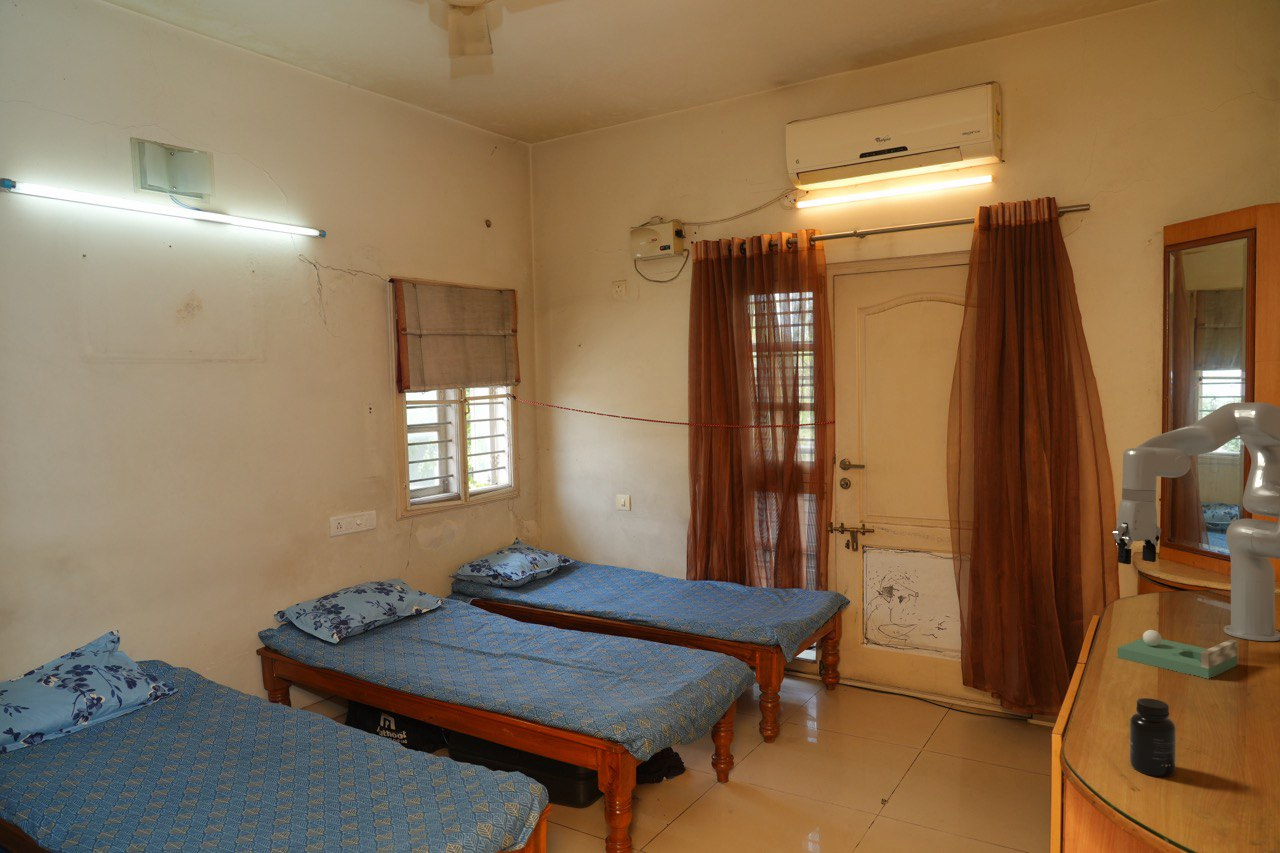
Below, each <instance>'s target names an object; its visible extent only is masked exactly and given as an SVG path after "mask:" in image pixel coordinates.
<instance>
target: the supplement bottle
mask: <svg viewBox="0 0 1280 853" xmlns="http://www.w3.org/2000/svg"><path fill="white" fill-rule="evenodd" d="M1169 708H1170V706H1169V704H1168V703H1166V702H1165V701H1162V700H1160V699H1155V698H1150V697H1148V698H1147V697H1146V698H1145V697H1142V698H1138V699H1137V700H1136V708H1135V709H1136V713H1134V714H1133V715H1131V717H1130V720H1129V727H1130V728H1129V733H1130V734H1129V761H1130V763H1129V764H1130V765H1131V767H1132V768H1133V769H1134V770H1136V771H1137V772H1139V773H1141V774H1143V775H1146V776H1149V777H1156V778H1168V777H1171V776H1174V774H1175V773H1176V760H1177V759H1176V752H1177V751H1176V743H1177V742H1176V733H1177V732H1176V725H1175V723H1174V722H1173V720H1172V719H1170V718H1169V717H1170V712H1169V711H1170V710H1169Z"/></svg>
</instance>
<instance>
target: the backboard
mask: <svg viewBox="0 0 1280 853" xmlns="http://www.w3.org/2000/svg"><path fill="white" fill-rule="evenodd" d="M1206 649H1207V650H1205V651H1202V652H1201V667H1204V668H1208V669H1209V668H1211V667H1213V666H1215V665H1217V664H1219V663H1221V662H1224V661H1226V660H1228V659H1230V658H1232V657H1234V656H1236V655H1237V656H1238V640H1235V639H1228V640H1225V641H1223V642H1221V643H1219V644H1216V645H1213V646H1212V647H1209V648H1206Z"/></svg>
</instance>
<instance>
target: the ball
mask: <svg viewBox="0 0 1280 853" xmlns="http://www.w3.org/2000/svg"><path fill="white" fill-rule="evenodd" d="M1142 638H1143V640H1144V642H1145V643H1146V644H1148V645H1150V646H1157V645H1159V644H1160V643H1161V640H1162V639H1163V638H1162V635H1161V634H1160V633H1159V632H1158V631H1157V630H1154V629H1148V630H1146V631H1144V632H1143V635H1142Z"/></svg>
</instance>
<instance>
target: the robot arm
mask: <svg viewBox="0 0 1280 853" xmlns="http://www.w3.org/2000/svg"><path fill="white" fill-rule="evenodd" d="M1237 437H1239V438H1240V439H1241V441H1242V443H1243V444H1244V445H1245V447H1246V449H1247V450H1248V453H1249V455H1250V460H1251V464H1250V469H1249V473H1248V475H1247V476H1248V477H1247V480H1246V485H1245V487H1244V492H1243V495H1242V496H1243V497H1242V506H1243V508H1244V509H1245V511H1247V512H1248V513H1250V514H1253V515H1256V516H1261V517H1264V516H1265V517H1269V518H1277V519H1278V522H1276V521H1269V520H1265V519H1264V520H1263V519H1255V518H1240V519H1236V520H1234V521H1232V522H1231V523H1230V524H1229V525H1228V527H1227V529H1226V533H1225V534H1226V535H1225V537H1226V543H1227V547H1228V552H1229V556H1230V624H1227V625H1225V626H1224V627H1223V632H1224V633H1225V634H1227V635H1229V636H1231V637H1233V638H1234V637H1235V638H1239V639H1243V640H1249V641H1259V642H1276V641H1278V642H1279V641H1280V632H1279V631H1278V630H1276V628H1275V626H1276V625H1275V624H1276V623H1275V622H1276V617H1275V616H1276V615H1275V614H1276V611H1275V608H1276V606H1275V605H1276V603H1275V602H1276V599H1275V598H1276V594H1275V593H1276V591H1275V589H1276V583H1275V582H1276V573H1275V572H1276V571H1275V568H1274V565H1273V563H1272V561H1271V560H1270V559H1274V560H1275V559H1276V560H1280V406H1277V405H1274V404H1271V403H1266V402H1230V403H1227V404H1226V403H1225V404H1224V405H1222V406H1220V407H1218V408H1217V409H1215V410H1213V411H1212V412H1210V413H1209V414H1206V416H1204V417H1202V418H1200V419H1199V420H1197V421H1195V422H1194V423H1192V424H1189V425H1186V426H1182V427H1179V428H1176V429H1173V430H1170V431H1167V432H1164V433H1161V434H1158V435H1155V436H1153V437H1151V438H1149V439H1148V440H1146V441H1144V442H1143V443H1141V444H1140V445H1138V446H1137V447H1136V448H1133V447H1132V448H1127V449H1125V450H1124V451H1123V456H1122V482H1121V483H1122V487H1121V500H1120V502H1119V506H1118V510H1117V518H1116V529H1115V530H1114V531H1113V532H1112V533H1113V536H1114V542H1115V543H1116V547H1117V562H1118V564H1124V565H1132V548H1131V546H1132V544H1133V542H1142V541H1143V544H1142V558H1141V559H1142V561H1143V562H1145V561H1146V562H1150V563H1156V561H1157V558H1156V557H1157V547H1158V546H1159V545H1158V544H1159V541H1160V539H1161V538H1160V536H1161V533H1162V528H1161V527H1159V526H1158V512H1157V504H1156V503H1157V485H1158V484H1157V480H1158V479H1157V477H1161V478H1172V479H1173V478H1180V477H1182V476H1184V475H1185V474H1187V473H1188V472H1189V471H1190V469H1191V467H1192V461H1191V458H1190V456H1196V455H1204V454H1209V453H1212V452H1214V451H1217V450H1218V449H1220V448H1222V447H1223V446H1225V445H1226V444H1228V443H1229V442H1231V441H1233V440H1234V439H1236V438H1237Z"/></svg>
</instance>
